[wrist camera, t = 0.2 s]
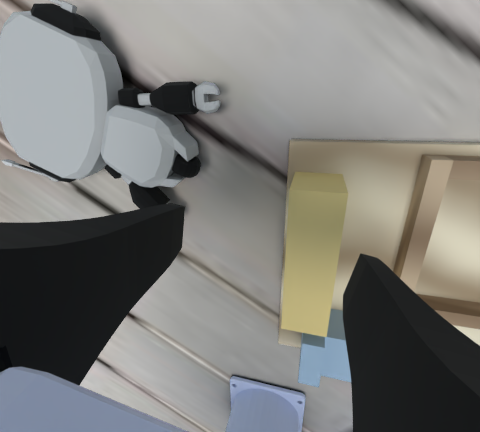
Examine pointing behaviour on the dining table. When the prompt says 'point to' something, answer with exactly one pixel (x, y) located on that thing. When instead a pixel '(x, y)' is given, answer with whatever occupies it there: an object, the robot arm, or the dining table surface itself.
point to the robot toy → (91, 107)
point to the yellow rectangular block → (312, 250)
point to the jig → (404, 219)
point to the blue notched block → (325, 353)
